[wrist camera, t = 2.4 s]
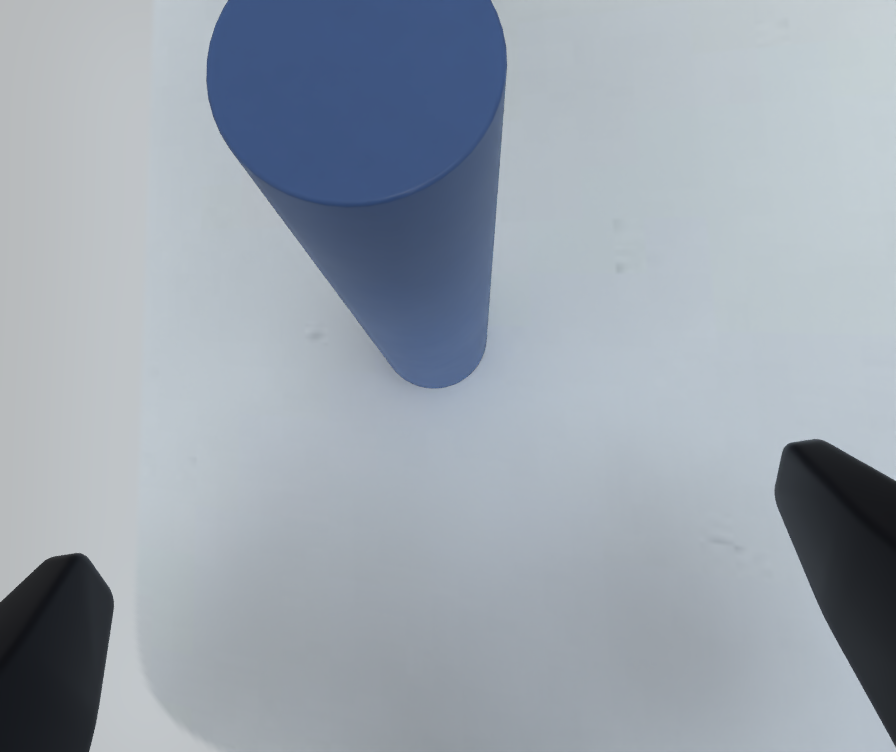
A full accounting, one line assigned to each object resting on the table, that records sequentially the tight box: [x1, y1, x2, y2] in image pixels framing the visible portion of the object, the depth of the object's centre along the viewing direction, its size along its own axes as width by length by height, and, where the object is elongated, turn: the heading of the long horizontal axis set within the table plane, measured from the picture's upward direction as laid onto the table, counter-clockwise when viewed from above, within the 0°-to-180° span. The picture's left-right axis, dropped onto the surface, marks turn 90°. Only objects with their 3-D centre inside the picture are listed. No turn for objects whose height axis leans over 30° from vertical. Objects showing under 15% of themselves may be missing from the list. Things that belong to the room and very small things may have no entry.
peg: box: [206, 0, 507, 388], centre depth 14 cm, size 3×3×14 cm
